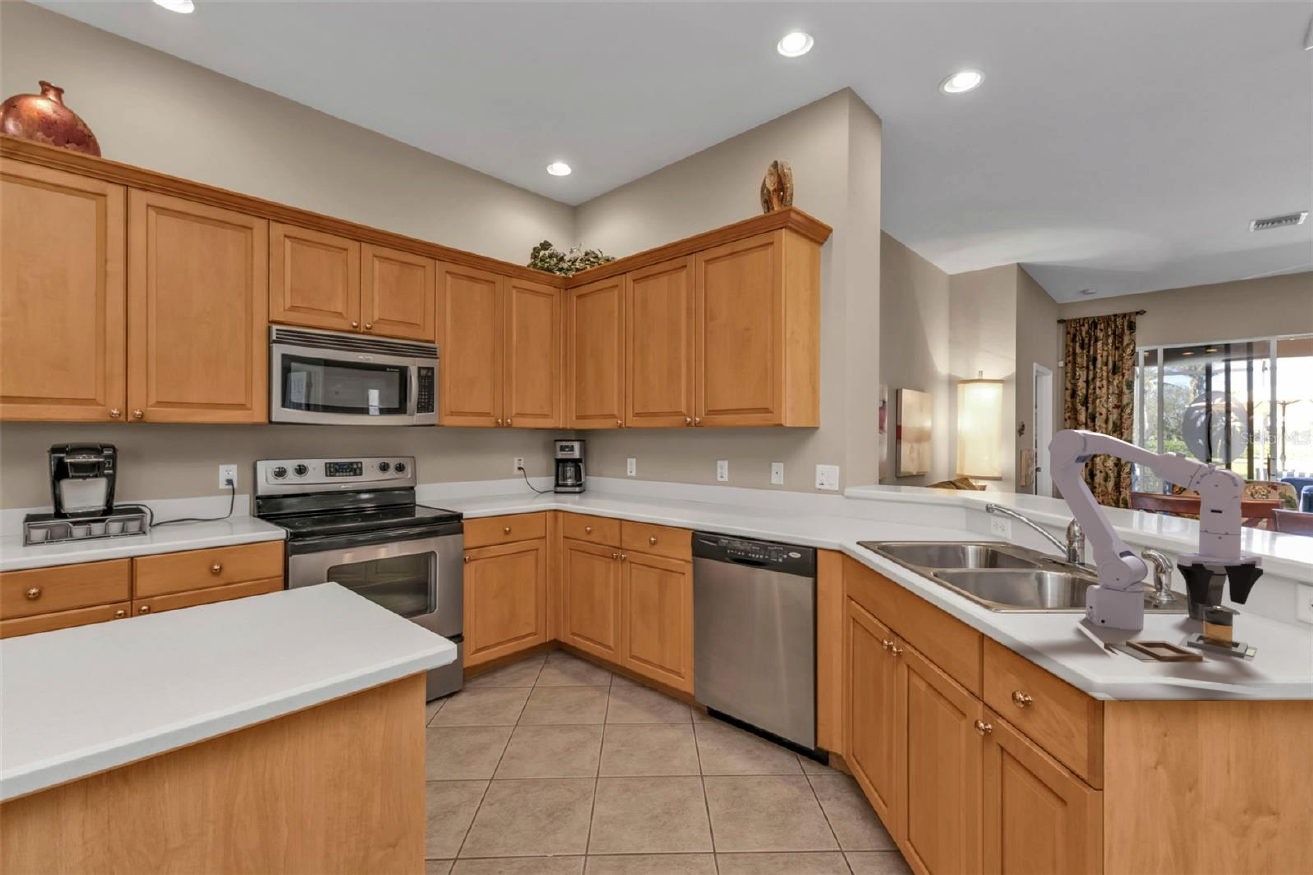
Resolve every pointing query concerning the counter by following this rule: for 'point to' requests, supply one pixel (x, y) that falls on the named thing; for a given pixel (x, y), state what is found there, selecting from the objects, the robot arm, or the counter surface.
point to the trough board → (1155, 651)
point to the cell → (1218, 627)
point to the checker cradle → (1237, 650)
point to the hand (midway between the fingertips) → (1218, 602)
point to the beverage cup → (1213, 593)
